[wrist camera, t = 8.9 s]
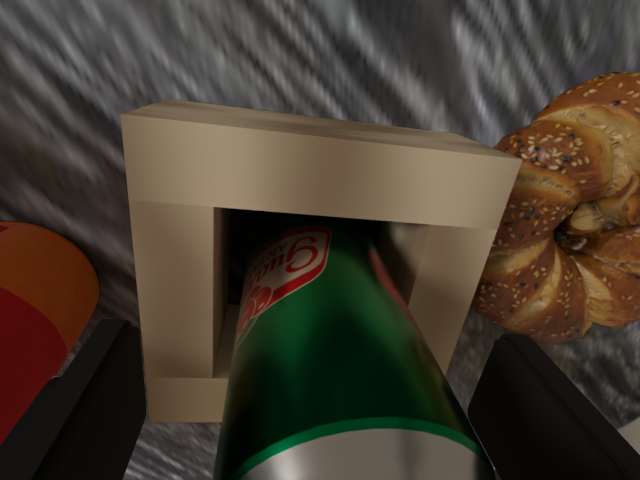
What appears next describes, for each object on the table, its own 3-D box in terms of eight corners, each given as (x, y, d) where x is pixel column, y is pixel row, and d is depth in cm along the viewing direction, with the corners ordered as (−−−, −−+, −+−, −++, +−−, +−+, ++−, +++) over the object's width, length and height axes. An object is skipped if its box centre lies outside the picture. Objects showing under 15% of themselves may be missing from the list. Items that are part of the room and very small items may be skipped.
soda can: (298, 164, 15) (356, 444, 4) (388, 233, 16) (600, 558, 6) (227, 255, 16) (124, 647, 5) (317, 309, 18) (377, 687, 7)
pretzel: (484, 54, 14) (549, 48, 11) (722, 88, 16) (845, 93, 12) (415, 313, 19) (445, 366, 15) (602, 320, 20) (665, 369, 17)
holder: (455, 133, 15) (522, 159, 11) (397, 347, 19) (428, 421, 15) (168, 98, 13) (120, 113, 9) (179, 340, 18) (150, 422, 14)
